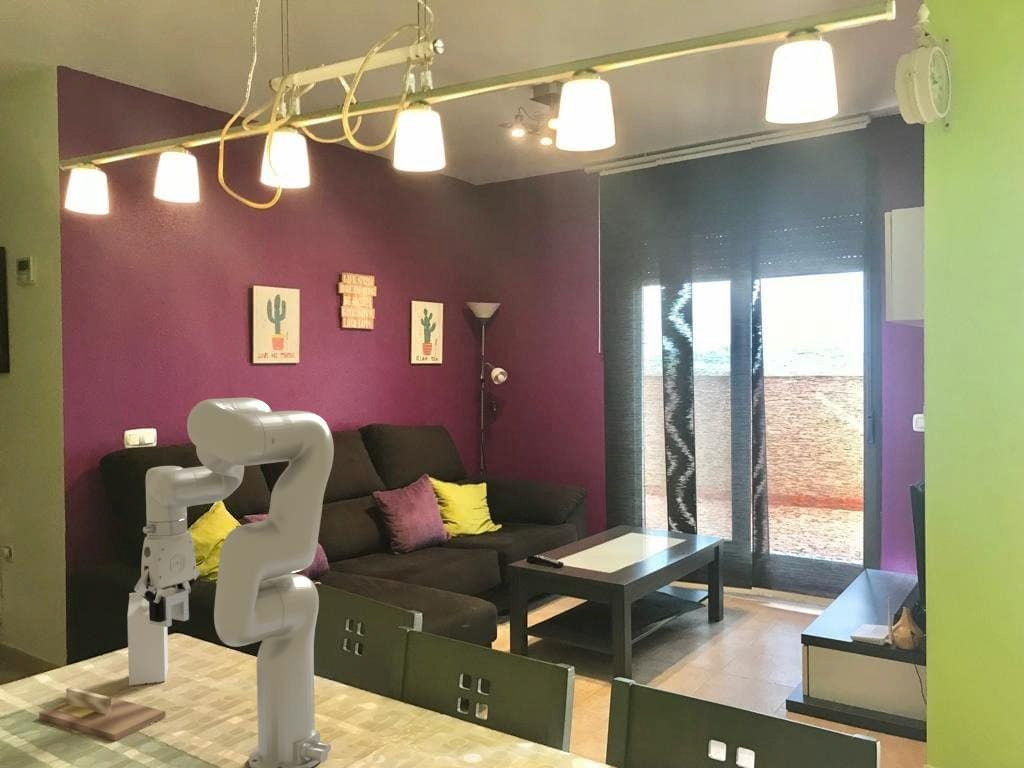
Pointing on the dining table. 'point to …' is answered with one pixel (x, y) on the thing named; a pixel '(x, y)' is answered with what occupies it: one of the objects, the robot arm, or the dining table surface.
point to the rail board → (101, 714)
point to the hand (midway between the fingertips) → (169, 616)
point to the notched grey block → (173, 606)
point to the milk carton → (145, 644)
